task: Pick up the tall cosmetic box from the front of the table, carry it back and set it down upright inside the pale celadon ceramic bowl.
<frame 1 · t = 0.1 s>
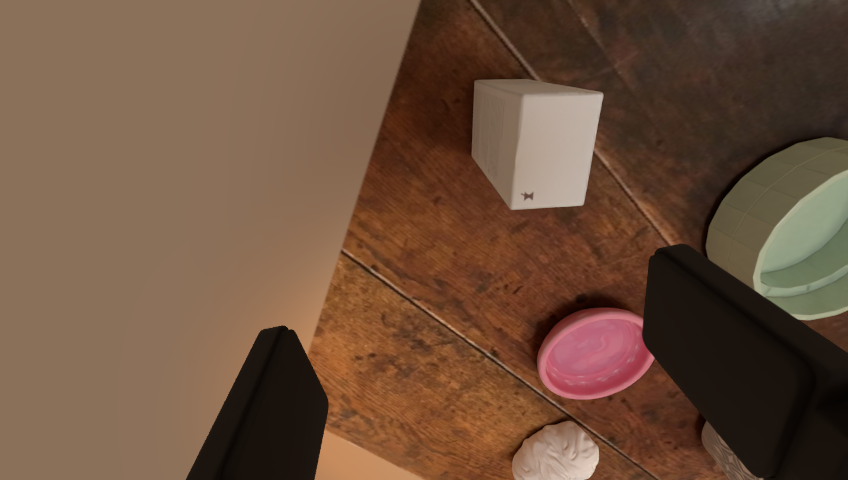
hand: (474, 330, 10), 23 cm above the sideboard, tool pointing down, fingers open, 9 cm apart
cosmetic box: (497, 117, 29), on the sideboard
planter: (755, 409, 49), on the sideboard
bust: (547, 439, 49), on the sideboard
bowl: (782, 216, 35), on the sideboard
saucer: (584, 338, 41), on the sideboard
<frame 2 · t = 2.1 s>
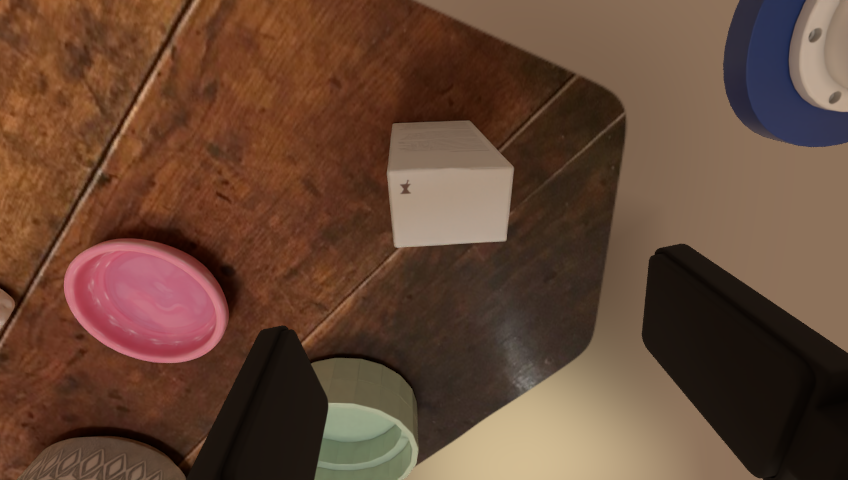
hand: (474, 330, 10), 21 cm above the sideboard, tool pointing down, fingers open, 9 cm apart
cosmetic box: (432, 148, 28), on the sideboard
planter: (123, 467, 45), on the sideboard
bowl: (348, 403, 41), on the sideboard
saucer: (168, 286, 33), on the sideboard
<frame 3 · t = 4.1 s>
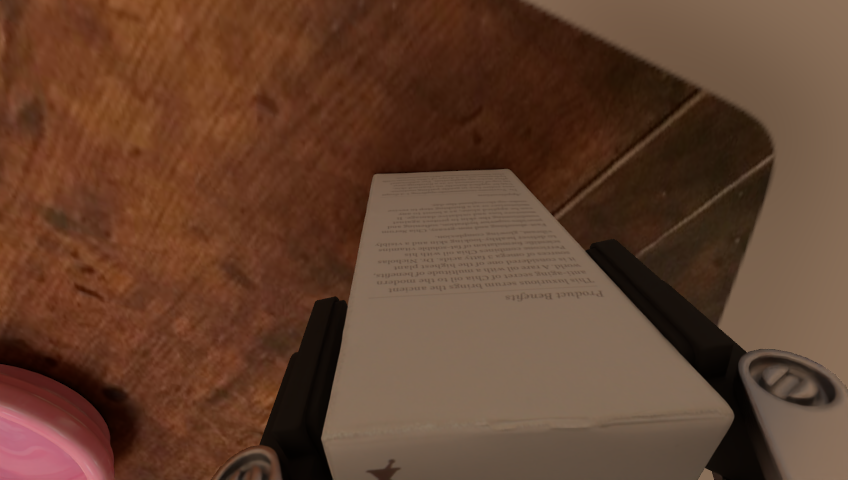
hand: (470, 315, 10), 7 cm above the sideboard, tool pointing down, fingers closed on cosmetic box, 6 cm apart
cosmetic box: (443, 213, 17), on the sideboard, touching gripper
saucer: (24, 416, 21), on the sideboard
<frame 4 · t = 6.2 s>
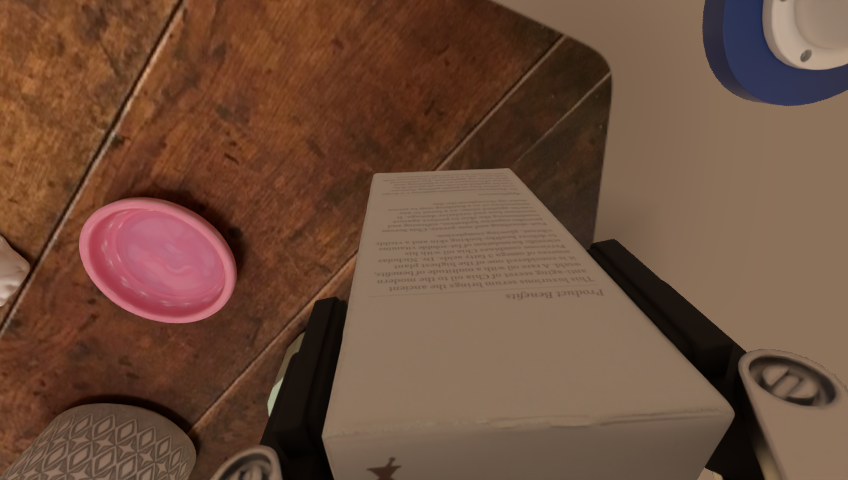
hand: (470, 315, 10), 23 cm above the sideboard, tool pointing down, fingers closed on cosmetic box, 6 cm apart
cosmetic box: (443, 212, 17), point 16 cm above the sideboard, touching gripper
planter: (132, 437, 46), on the sideboard
bowl: (352, 367, 43), on the sideboard
saucer: (178, 249, 34), on the sideboard
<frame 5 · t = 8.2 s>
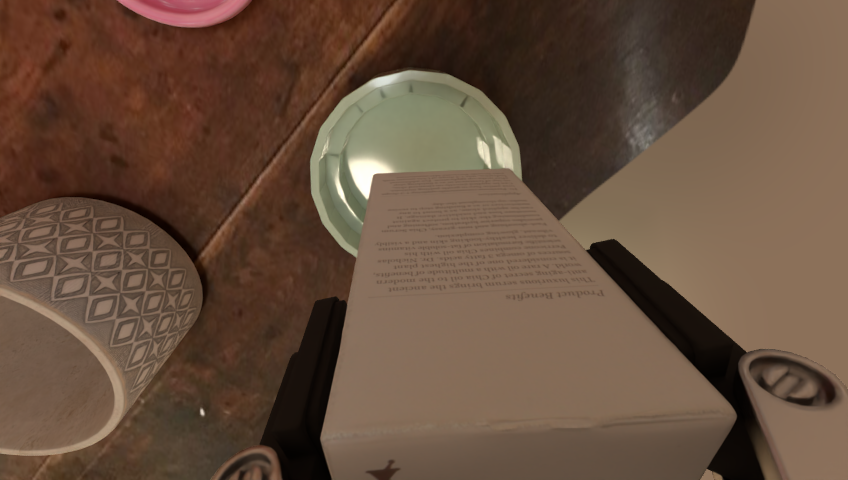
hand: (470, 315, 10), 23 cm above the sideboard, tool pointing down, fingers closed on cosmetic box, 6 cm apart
cosmetic box: (443, 212, 17), point 16 cm above the sideboard, touching gripper
planter: (119, 271, 35), on the sideboard
bowl: (414, 163, 32), on the sideboard
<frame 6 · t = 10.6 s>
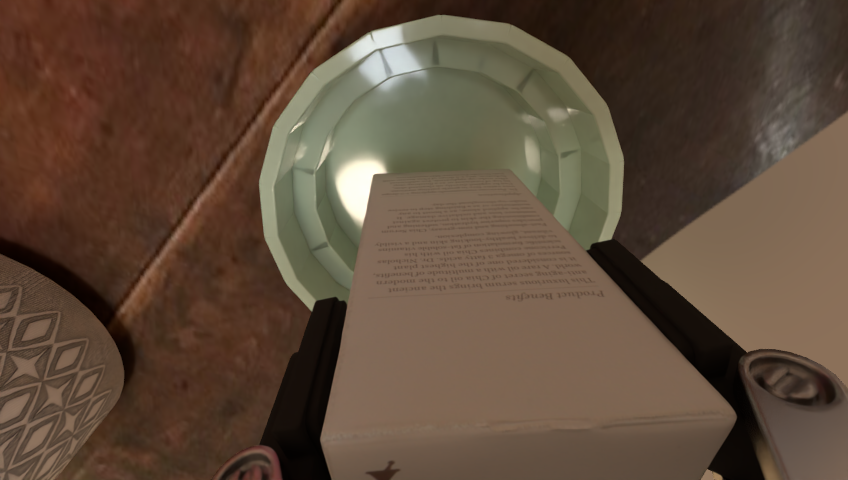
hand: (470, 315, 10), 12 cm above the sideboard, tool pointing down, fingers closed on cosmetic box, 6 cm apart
cosmetic box: (443, 212, 17), point 5 cm above the sideboard, touching gripper
planter: (3, 333, 24), on the sideboard
bowl: (433, 180, 21), on the sideboard
when the fingers open (8 cm above the sideboard, at t = 12.3 s): cosmetic box stays where it is, resting on bowl.
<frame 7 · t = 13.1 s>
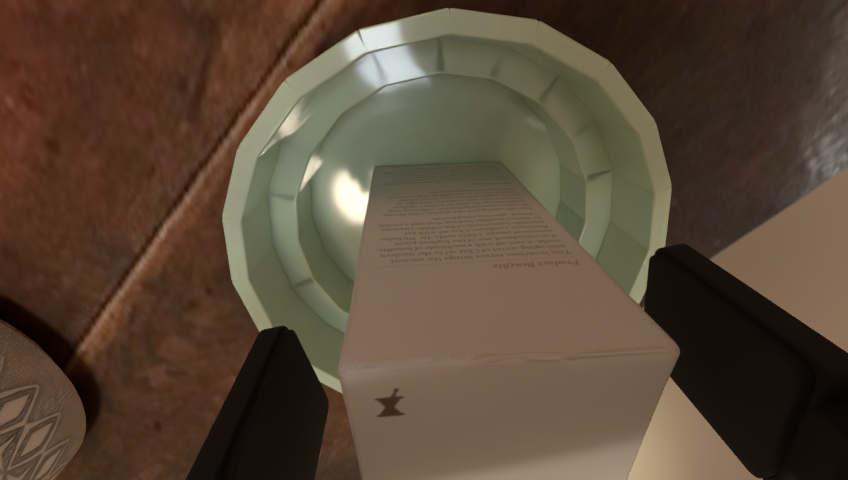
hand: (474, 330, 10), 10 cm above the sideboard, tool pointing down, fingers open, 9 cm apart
cosmetic box: (439, 203, 18), resting on bowl
bowl: (436, 202, 18), on the sideboard
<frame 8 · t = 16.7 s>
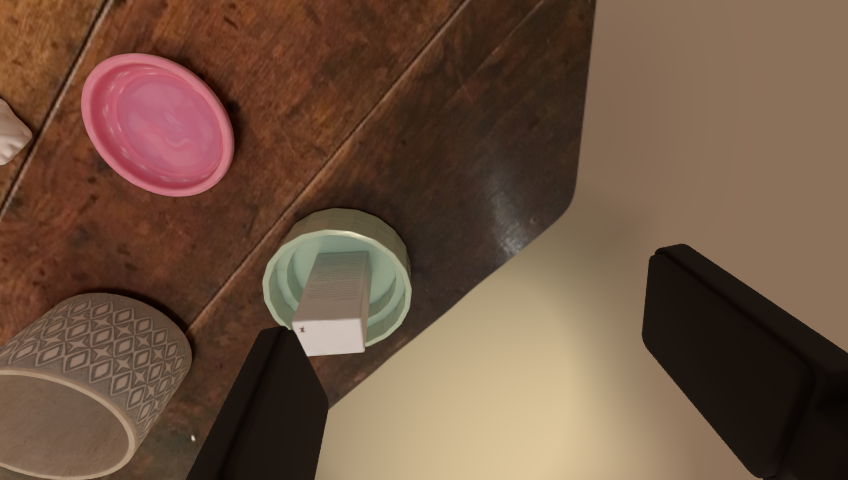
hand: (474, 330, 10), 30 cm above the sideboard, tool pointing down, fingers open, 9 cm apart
cosmetic box: (346, 266, 43), resting on bowl
planter: (129, 338, 47), on the sideboard
bowl: (346, 265, 43), on the sideboard
saucer: (177, 125, 35), on the sideboard
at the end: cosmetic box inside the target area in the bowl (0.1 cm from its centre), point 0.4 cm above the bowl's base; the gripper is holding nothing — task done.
